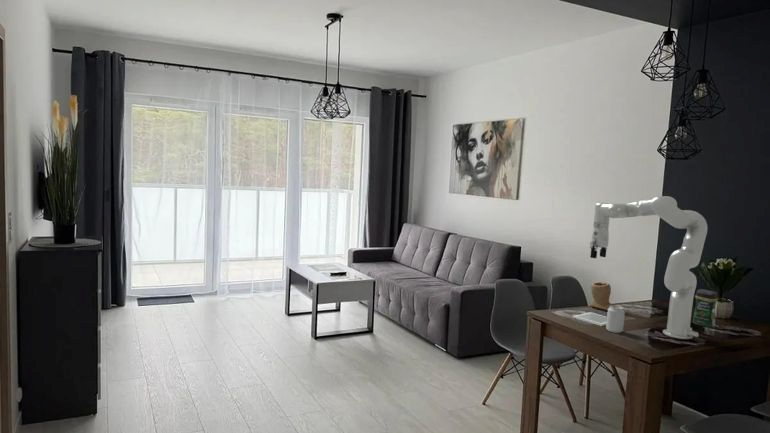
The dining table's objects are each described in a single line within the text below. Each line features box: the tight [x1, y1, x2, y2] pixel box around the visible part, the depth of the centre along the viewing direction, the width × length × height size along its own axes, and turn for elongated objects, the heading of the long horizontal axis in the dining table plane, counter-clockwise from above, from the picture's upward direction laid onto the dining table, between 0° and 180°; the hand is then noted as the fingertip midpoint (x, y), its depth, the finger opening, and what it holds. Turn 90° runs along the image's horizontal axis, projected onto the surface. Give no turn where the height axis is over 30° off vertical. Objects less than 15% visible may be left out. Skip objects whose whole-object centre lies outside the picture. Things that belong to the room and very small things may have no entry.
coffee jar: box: [691, 288, 719, 328], centre depth 275 cm, size 10×8×19 cm
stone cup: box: [589, 281, 617, 311], centre depth 298 cm, size 15×12×15 cm
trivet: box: [572, 311, 607, 327], centre depth 275 cm, size 16×16×1 cm
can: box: [605, 304, 626, 334], centre depth 256 cm, size 8×8×12 cm
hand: (598, 257), depth 286 cm, fingers open, 9 cm apart
